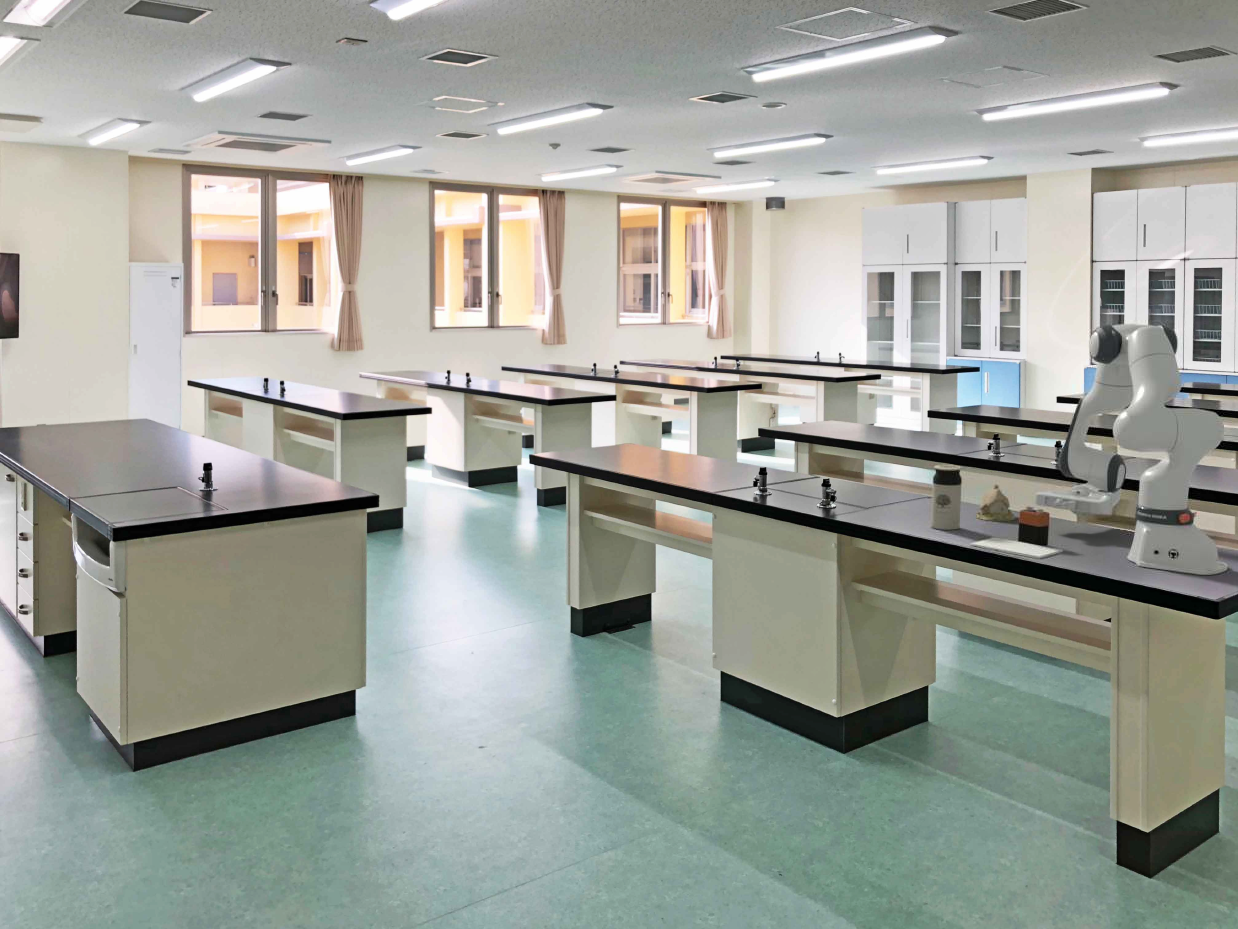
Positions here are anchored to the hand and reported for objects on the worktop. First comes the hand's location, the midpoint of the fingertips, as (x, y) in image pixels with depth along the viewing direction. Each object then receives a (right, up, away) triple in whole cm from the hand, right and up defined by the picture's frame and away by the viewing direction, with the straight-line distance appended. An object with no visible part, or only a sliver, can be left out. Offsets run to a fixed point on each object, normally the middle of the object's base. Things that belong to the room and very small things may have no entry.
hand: (1058, 505), depth 306 cm
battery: (-10, -10, -7) cm, 16 cm away
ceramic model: (-7, -5, +31) cm, 32 cm away
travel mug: (-27, -7, +15) cm, 32 cm away
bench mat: (-16, -11, -12) cm, 23 cm away
